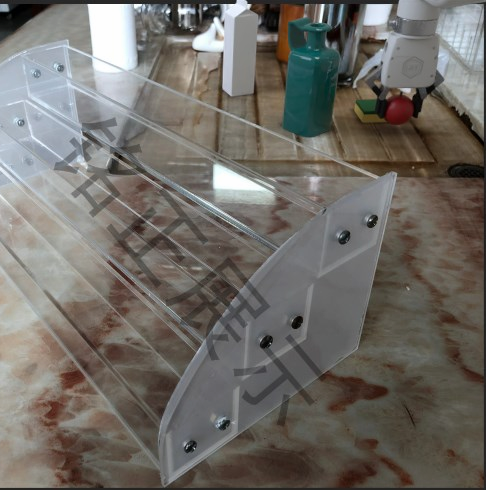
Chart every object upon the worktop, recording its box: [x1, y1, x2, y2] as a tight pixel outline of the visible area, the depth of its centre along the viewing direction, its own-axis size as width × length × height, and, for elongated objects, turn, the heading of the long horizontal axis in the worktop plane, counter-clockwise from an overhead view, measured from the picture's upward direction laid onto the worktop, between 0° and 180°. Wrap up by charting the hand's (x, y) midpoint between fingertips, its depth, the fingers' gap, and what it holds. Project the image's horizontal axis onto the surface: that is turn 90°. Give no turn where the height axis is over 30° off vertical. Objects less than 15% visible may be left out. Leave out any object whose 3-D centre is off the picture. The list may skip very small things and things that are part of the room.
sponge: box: [354, 98, 410, 124], centre depth 131 cm, size 10×7×3 cm
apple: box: [384, 91, 414, 126], centre depth 122 cm, size 6×6×7 cm
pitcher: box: [281, 16, 341, 138], centre depth 122 cm, size 10×8×22 cm
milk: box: [221, 0, 259, 97], centre depth 142 cm, size 6×6×22 cm
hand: (396, 115), depth 123 cm, fingers closed on apple, 6 cm apart
